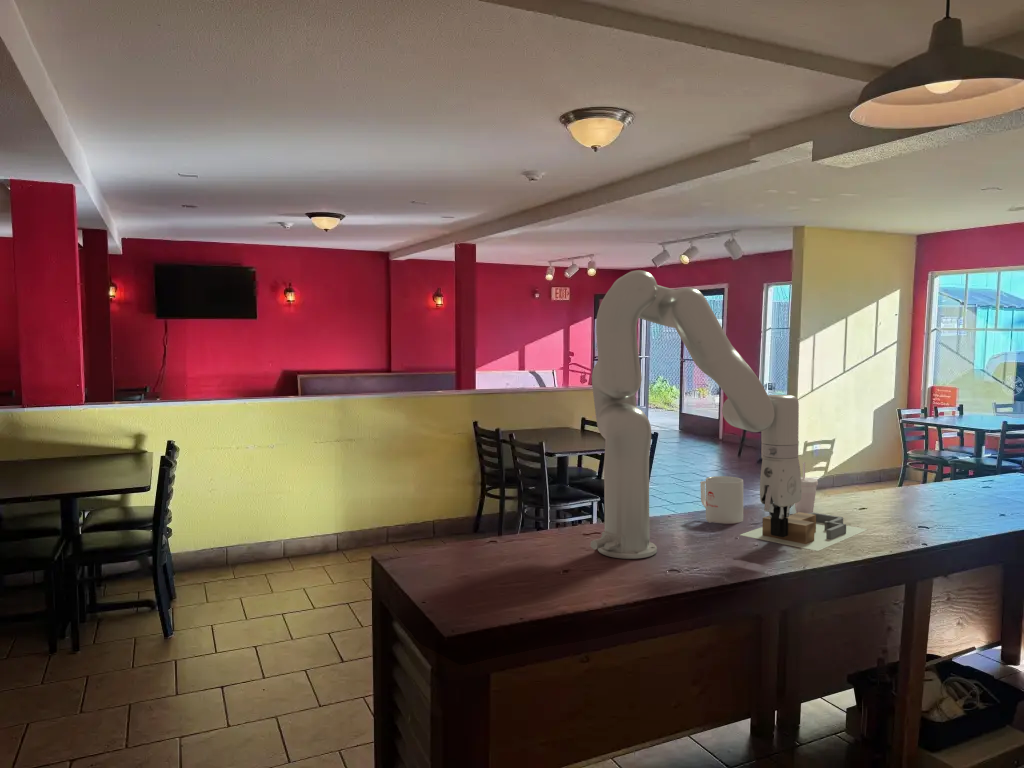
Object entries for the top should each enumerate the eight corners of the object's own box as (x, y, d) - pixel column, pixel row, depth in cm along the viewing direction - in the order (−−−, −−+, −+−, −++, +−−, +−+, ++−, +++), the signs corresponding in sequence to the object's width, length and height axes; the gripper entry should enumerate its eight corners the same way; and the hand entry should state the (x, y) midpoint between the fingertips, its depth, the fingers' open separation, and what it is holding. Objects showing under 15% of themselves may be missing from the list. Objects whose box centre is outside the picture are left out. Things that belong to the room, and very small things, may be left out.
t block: (805, 544, 152) (805, 525, 152) (762, 535, 159) (762, 517, 159) (828, 534, 159) (829, 517, 159) (786, 526, 167) (786, 510, 166)
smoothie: (813, 514, 184) (813, 460, 183) (821, 520, 177) (821, 464, 177) (787, 514, 184) (788, 460, 184) (795, 520, 178) (795, 464, 177)
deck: (817, 556, 147) (817, 541, 147) (739, 540, 160) (739, 526, 160) (867, 534, 163) (867, 520, 163) (793, 521, 177) (793, 508, 177)
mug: (751, 525, 174) (751, 480, 173) (725, 530, 169) (725, 484, 169) (714, 515, 184) (714, 473, 183) (689, 520, 180) (689, 476, 179)
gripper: (778, 457, 145) (778, 545, 146) (813, 450, 155) (812, 532, 156) (745, 453, 151) (745, 538, 152) (780, 446, 161) (780, 526, 162)
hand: (779, 535), depth 154 cm, fingers closed
